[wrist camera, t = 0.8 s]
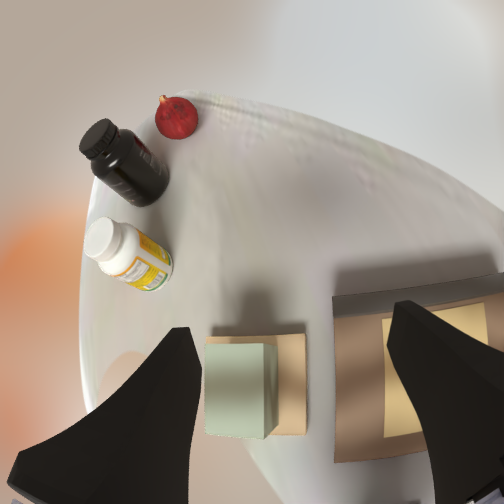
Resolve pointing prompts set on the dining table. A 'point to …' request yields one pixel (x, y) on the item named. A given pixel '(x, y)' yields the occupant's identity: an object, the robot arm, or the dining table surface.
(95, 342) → the dining table surface
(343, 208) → the dining table surface
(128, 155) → the supplement bottle
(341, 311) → the dock
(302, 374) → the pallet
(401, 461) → the dining table surface
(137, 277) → the supplement bottle
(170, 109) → the onion
